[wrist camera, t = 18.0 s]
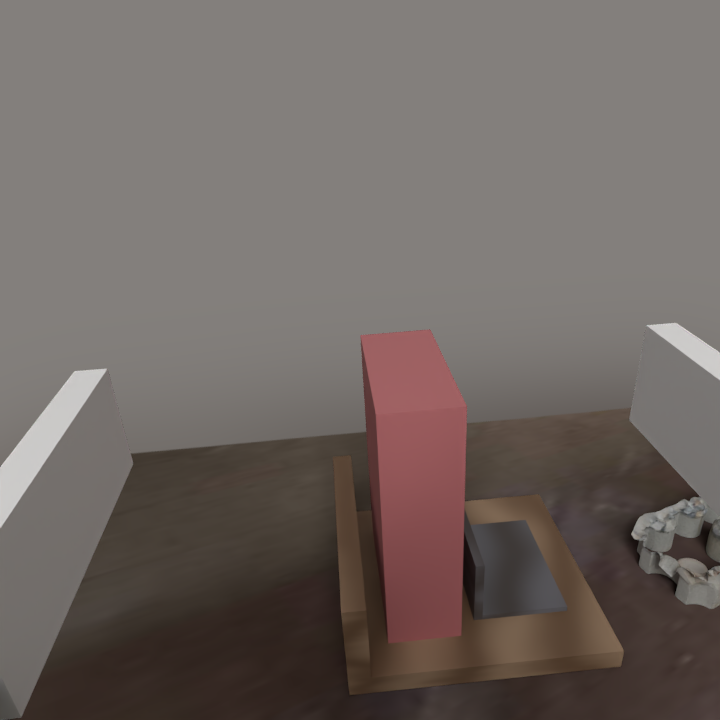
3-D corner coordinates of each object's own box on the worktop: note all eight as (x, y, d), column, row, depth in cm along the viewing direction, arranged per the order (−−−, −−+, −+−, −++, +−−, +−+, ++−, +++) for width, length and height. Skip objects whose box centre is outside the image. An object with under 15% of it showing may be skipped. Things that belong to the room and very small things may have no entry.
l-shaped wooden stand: (349, 695, 38) (341, 612, 35) (339, 526, 52) (333, 456, 49) (620, 666, 39) (637, 583, 36) (537, 507, 53) (544, 437, 50)
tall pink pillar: (388, 643, 40) (375, 414, 32) (372, 530, 50) (360, 335, 42) (461, 635, 40) (466, 406, 32) (431, 525, 50) (430, 329, 42)
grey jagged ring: (695, 622, 42) (706, 581, 40) (617, 552, 48) (624, 513, 46) (800, 574, 45) (814, 533, 43) (714, 514, 51) (724, 476, 50)
